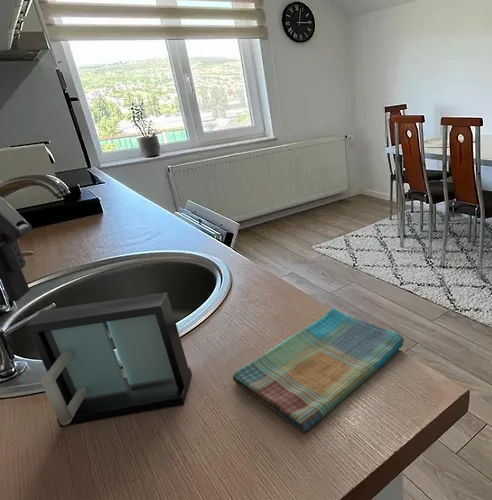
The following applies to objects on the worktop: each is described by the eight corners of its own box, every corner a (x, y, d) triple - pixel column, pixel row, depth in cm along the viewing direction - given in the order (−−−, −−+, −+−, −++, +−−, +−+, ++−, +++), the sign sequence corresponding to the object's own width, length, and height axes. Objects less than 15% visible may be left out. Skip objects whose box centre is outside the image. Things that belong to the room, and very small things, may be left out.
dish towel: (408, 347, 70) (407, 334, 69) (306, 437, 54) (304, 422, 53) (333, 315, 80) (332, 304, 79) (231, 383, 65) (228, 370, 64)
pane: (52, 435, 55) (16, 361, 50) (76, 395, 62) (46, 328, 57) (110, 424, 56) (81, 351, 51) (128, 386, 63) (103, 319, 58)
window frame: (60, 427, 59) (17, 334, 53) (80, 393, 65) (44, 307, 59) (184, 405, 61) (156, 313, 55) (192, 374, 67) (168, 289, 61)
